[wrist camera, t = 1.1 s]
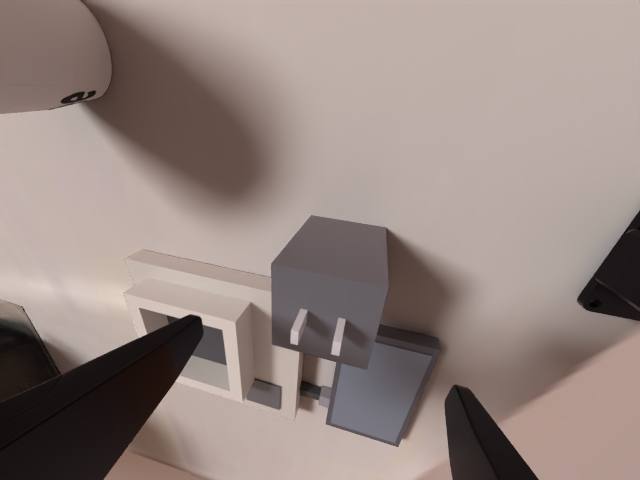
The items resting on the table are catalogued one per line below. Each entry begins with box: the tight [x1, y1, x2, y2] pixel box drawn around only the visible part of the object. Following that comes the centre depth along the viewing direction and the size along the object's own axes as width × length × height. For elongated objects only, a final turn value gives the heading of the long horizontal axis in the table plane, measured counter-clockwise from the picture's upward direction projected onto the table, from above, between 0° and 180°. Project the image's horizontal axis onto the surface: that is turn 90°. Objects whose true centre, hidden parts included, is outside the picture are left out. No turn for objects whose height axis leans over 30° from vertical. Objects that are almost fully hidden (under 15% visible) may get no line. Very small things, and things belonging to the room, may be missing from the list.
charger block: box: [271, 215, 389, 370], centre depth 12 cm, size 4×4×7 cm
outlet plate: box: [123, 250, 304, 421], centre depth 19 cm, size 14×14×4 cm
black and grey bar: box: [300, 382, 332, 407], centre depth 21 cm, size 3×1×1 cm, turn 85°
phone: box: [326, 325, 441, 447], centre depth 19 cm, size 6×12×1 cm, turn 175°
